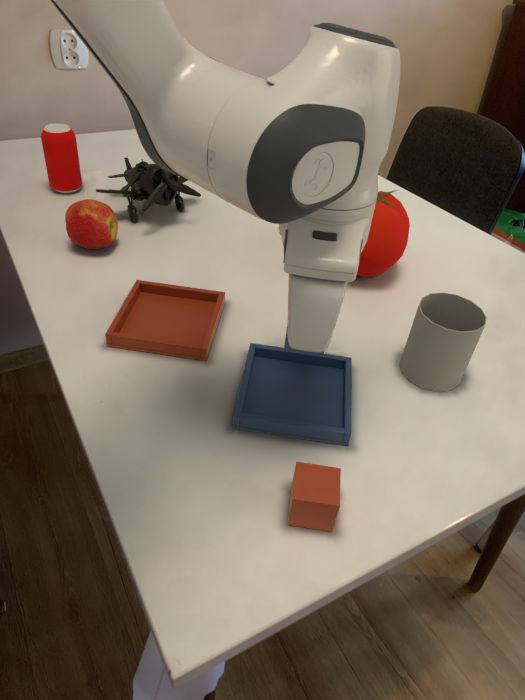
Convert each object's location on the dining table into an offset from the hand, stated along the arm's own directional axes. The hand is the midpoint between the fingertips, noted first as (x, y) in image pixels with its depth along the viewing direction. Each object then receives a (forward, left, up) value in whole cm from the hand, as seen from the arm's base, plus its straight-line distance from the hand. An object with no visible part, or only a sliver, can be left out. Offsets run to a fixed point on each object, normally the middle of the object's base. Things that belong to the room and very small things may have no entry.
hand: (306, 330), depth 61 cm
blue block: (0, 0, -2) cm, 2 cm away
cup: (+18, +9, -11) cm, 23 cm away
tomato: (+8, +33, -11) cm, 36 cm away
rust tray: (-19, +11, -11) cm, 24 cm away
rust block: (+3, -16, -11) cm, 19 cm away
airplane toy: (-32, +45, -11) cm, 56 cm away
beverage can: (-50, +49, -11) cm, 71 cm away
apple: (-37, +29, -11) cm, 48 cm away
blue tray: (0, 0, -11) cm, 11 cm away
